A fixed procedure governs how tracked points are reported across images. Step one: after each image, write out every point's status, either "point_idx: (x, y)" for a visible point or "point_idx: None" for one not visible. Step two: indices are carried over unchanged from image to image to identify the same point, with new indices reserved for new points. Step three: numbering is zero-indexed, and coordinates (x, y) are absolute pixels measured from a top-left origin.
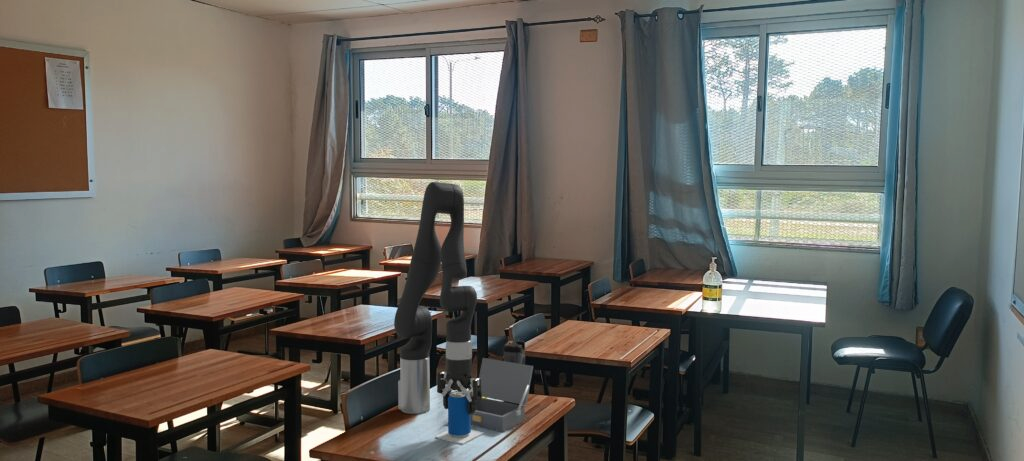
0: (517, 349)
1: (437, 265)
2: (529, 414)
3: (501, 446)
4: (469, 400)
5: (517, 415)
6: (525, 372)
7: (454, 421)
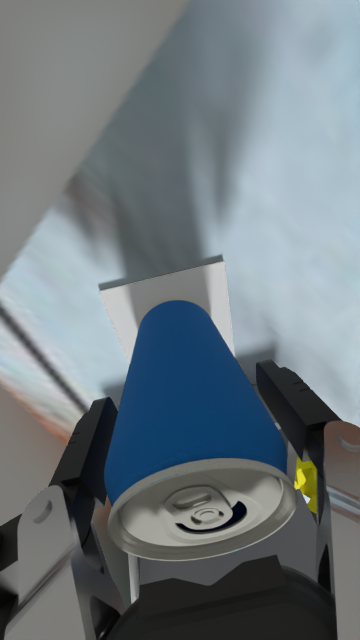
0: None
1: None
2: None
3: (17, 364)
4: (43, 500)
5: None
6: None
7: (159, 327)
